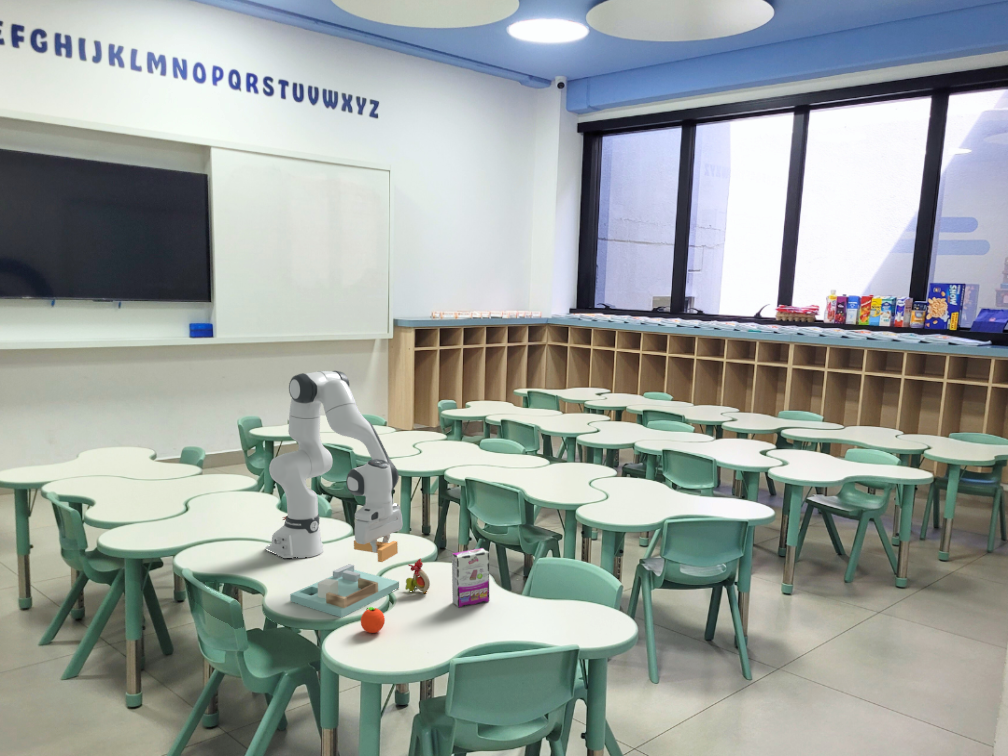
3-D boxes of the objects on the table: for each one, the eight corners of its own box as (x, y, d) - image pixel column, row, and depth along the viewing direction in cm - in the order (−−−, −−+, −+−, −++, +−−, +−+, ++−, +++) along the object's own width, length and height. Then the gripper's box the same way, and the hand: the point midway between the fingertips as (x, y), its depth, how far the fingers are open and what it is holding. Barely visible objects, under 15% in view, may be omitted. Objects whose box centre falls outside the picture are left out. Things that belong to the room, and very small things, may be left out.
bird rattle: (431, 596, 255) (413, 579, 259) (441, 569, 251) (422, 553, 255) (418, 602, 250) (399, 585, 254) (428, 575, 246) (409, 558, 251)
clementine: (355, 629, 225) (354, 605, 224) (376, 623, 229) (376, 600, 228) (367, 639, 218) (366, 615, 218) (389, 633, 222) (388, 609, 222)
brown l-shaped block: (326, 602, 237) (326, 593, 237) (360, 586, 250) (360, 577, 250) (344, 608, 233) (344, 598, 233) (378, 591, 246) (378, 582, 246)
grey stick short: (332, 577, 258) (332, 571, 258) (349, 570, 265) (349, 564, 265) (337, 578, 257) (337, 572, 257) (354, 571, 264) (354, 565, 264)
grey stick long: (342, 578, 257) (342, 572, 257) (347, 576, 259) (346, 570, 259) (355, 582, 254) (355, 575, 254) (360, 580, 256) (360, 573, 256)
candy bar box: (482, 596, 250) (483, 547, 248) (489, 601, 245) (490, 552, 244) (451, 602, 245) (451, 552, 243) (457, 608, 240) (457, 557, 238)
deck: (290, 601, 244) (290, 594, 244) (349, 575, 267) (349, 568, 267) (341, 617, 233) (341, 609, 232) (399, 588, 255) (399, 581, 255)
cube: (317, 597, 242) (317, 583, 241) (326, 591, 246) (326, 578, 245) (329, 599, 240) (329, 585, 239) (338, 594, 244) (338, 580, 244)
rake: (341, 555, 253) (341, 543, 253) (358, 546, 261) (358, 535, 261) (382, 562, 247) (381, 550, 246) (397, 553, 255) (397, 541, 254)
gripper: (392, 500, 265) (393, 539, 267) (350, 515, 248) (351, 556, 249) (406, 503, 262) (407, 542, 263) (365, 518, 245) (366, 560, 246)
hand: (379, 549), depth 256 cm, fingers closed on rake, 3 cm apart
